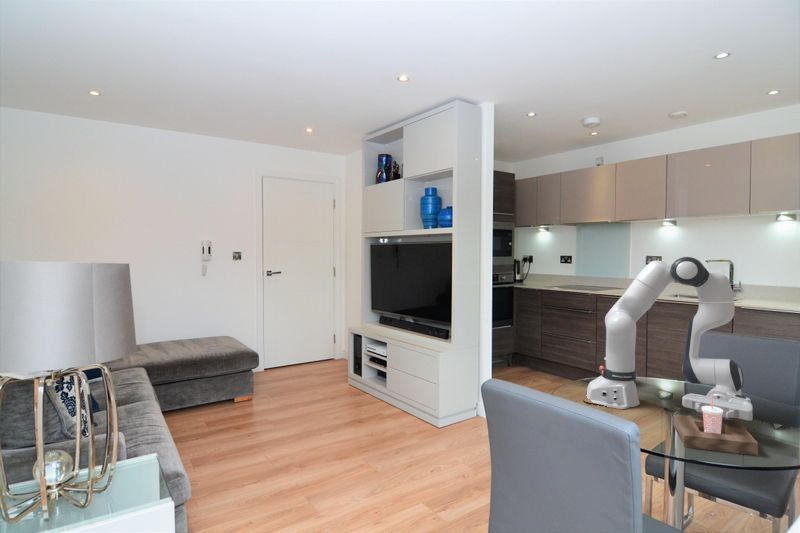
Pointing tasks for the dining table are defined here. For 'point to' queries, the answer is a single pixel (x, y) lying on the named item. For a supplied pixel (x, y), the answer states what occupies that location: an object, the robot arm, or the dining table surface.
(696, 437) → the walnut tray
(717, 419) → the beverage cup
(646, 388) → the dining table surface
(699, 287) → the robot arm
